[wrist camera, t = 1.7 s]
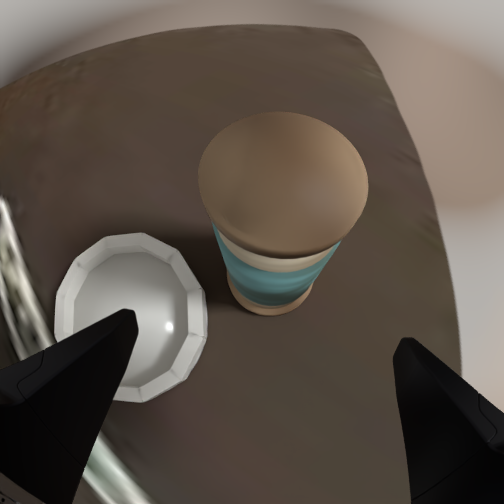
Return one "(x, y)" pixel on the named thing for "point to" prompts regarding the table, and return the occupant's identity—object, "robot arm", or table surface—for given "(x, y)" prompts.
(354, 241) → the table surface
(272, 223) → the disc
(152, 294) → the ceramic dish
